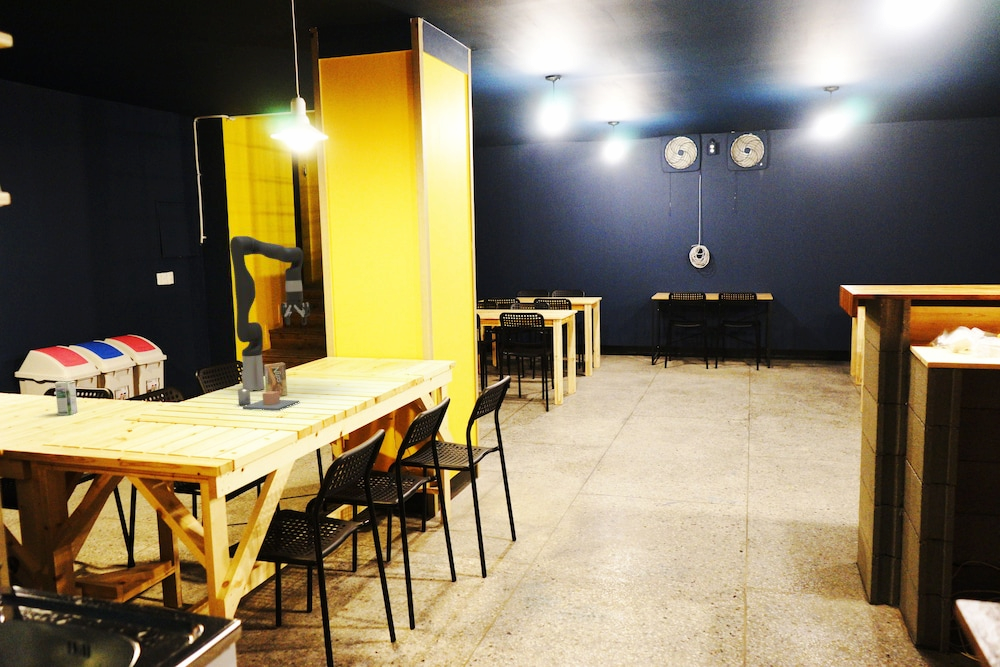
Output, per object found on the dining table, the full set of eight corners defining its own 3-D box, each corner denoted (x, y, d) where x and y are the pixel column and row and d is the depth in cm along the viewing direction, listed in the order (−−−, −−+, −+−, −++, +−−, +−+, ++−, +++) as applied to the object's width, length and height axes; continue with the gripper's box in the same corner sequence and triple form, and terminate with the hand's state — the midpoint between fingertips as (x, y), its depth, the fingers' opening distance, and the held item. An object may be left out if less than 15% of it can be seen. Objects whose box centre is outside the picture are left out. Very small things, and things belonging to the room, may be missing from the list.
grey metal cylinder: (236, 405, 333) (235, 390, 332) (243, 403, 338) (242, 388, 337) (246, 406, 332) (244, 390, 331) (252, 403, 336) (251, 388, 336)
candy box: (283, 394, 357) (281, 362, 355) (287, 395, 354) (285, 363, 352) (265, 396, 352) (263, 364, 350) (269, 398, 348) (267, 365, 347)
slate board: (242, 409, 326) (242, 406, 326) (265, 401, 341) (264, 399, 341) (278, 410, 320) (278, 408, 320) (299, 402, 335) (299, 400, 335)
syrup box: (57, 415, 324) (54, 382, 322) (65, 412, 329) (62, 380, 328) (70, 415, 324) (67, 382, 322) (78, 412, 329) (75, 379, 328)
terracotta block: (263, 404, 329) (262, 393, 328) (270, 402, 334) (269, 391, 333) (273, 405, 327) (272, 393, 327) (279, 402, 332) (278, 391, 331)
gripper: (311, 289, 351) (313, 324, 353) (285, 289, 356) (287, 323, 358) (302, 290, 344) (305, 325, 346) (276, 291, 349) (278, 325, 350)
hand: (296, 324), depth 352 cm, fingers open, 8 cm apart
